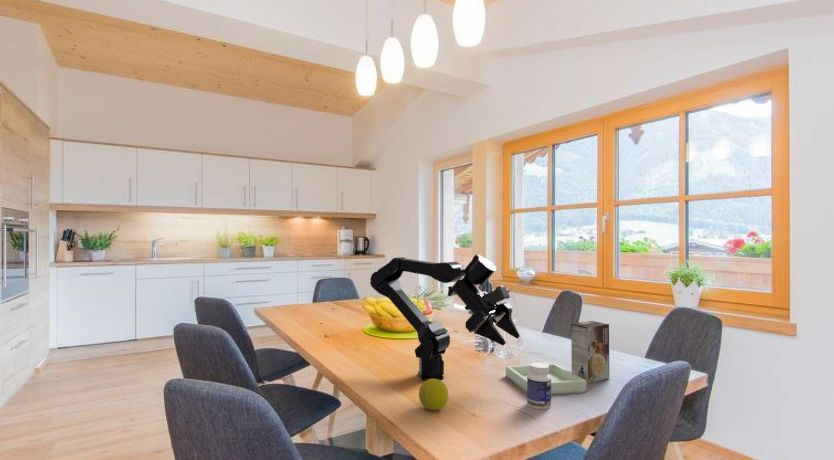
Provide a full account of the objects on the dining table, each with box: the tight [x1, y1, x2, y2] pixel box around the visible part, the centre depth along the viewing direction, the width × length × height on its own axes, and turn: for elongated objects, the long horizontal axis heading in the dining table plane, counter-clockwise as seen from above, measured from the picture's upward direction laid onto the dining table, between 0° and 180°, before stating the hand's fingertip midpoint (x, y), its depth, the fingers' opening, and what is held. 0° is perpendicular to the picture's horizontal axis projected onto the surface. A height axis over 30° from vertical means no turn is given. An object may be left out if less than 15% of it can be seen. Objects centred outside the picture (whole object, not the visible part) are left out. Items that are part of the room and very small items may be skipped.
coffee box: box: [570, 320, 610, 384], centre depth 127 cm, size 9×6×16 cm
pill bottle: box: [526, 362, 552, 410], centre depth 106 cm, size 6×6×10 cm
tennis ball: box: [418, 379, 449, 411], centre depth 103 cm, size 7×7×7 cm
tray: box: [505, 363, 587, 396], centre depth 121 cm, size 16×16×3 cm
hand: (511, 340), depth 112 cm, fingers open, 9 cm apart
